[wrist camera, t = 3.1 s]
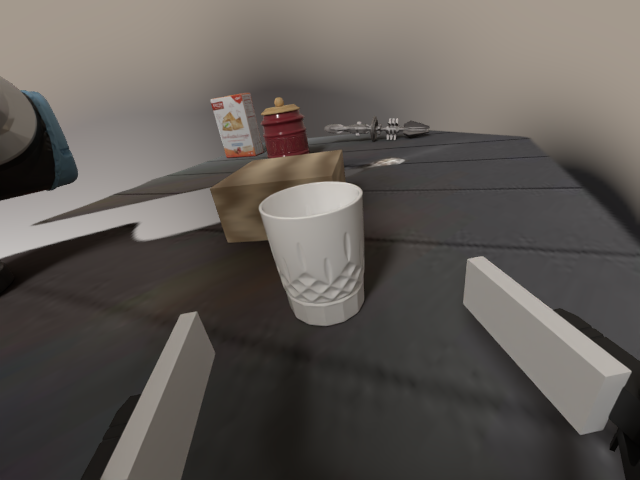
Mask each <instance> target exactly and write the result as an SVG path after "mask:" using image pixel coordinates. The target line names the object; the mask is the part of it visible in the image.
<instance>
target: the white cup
mask: <svg viewBox="0 0 640 480" xmlns="http://www.w3.org/2000/svg"><path fill="white" fill-rule="evenodd" d="M259 212H260V215H261V218H262V221H263V224H264V228H265V231H266V234H267V238H268V241H269V244H270V247H271V251H272V254H273V257H274V260H275V263H276V266H277V269H278V272H279V275H280V278H281V281H282V284H283V287H284V289H285V290H286V293H287V297H288V300H289V304H290V307H291V309H292V311H293V312H294V314H295V316H296V318H298V319H300V320H302V321H303V322H305V323H307V324H309V325H319V326H330V325H334V324H337V323H341V322H345V321H346V320H348V319H349V318H351V317H352V316H354V315H355V314H357V313H358V312H359V310H360V308H361V306H362V304H363V302H364V279H363V275H364V222H363V193H362V190H361V188H360V187H358V186H356V185H354V184H351V183H346V182H315V183H308V184H303V185H298V186H294V187H290V188H287V189H284V190H281V191H279V192H276V193H274V194H272V195H270V196H269V197H267V198H266V199H264V200H263V201H262V202H261V203H260V205H259Z"/></svg>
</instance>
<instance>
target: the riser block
mask: <svg viewBox="0 0 640 480" xmlns="http://www.w3.org/2000/svg"><path fill="white" fill-rule="evenodd" d="M315 182H345V173H344V164H343V154H342V150H336V151H327V152H319V153H311V154H303V155H295V156H287V157H279V158H271V159H262V160H254V161H252V162H250V163H249V164H247V165H245V166H244V167H242V168H241V169H239V170H238V171H236V172H235V173H233V174H232V175H230V176H229V177H227V178H225V179H224V180H222V181H221V182H219V183H218V184H216V185H215V186H213V187H212V188H210V190H211V193H212V197H213V199H214V202H215V205H216V209H217V212H218V214H219V218H220V221H221V224H222V227H223V230H224V233H225V236H226V239H227V242H228V243H232V242H247V241H263V240H268V238H267V234H266V231H265V228H264V224H263V221H262V218H261V215H260V212H259V205H260V203H261V202H262V201H263V200H264V199H266V198H267V197H269V196H270V195H272V194H274V193H276V192H279V191H281V190H284V189H287V188H290V187H294V186H298V185H303V184H308V183H315Z"/></svg>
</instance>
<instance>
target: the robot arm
mask: <svg viewBox="0 0 640 480" xmlns="http://www.w3.org/2000/svg"><path fill="white" fill-rule="evenodd" d="M77 177H78V170H77V167H76V164H75V161H74V158H73V156H72V153H71V151H70V150H69V146H68V144H67V141H66V139H65V136H64V134H63V132H62V130H61V127H60V126H59V123H58V121H57V119H56V117H55V115H54V113H53V111H52V109H51V107H50V105H49V103H48V102H47V100H46V99H45V98H44V97H43V96H42V95H41V94H40V93H38V92H28V91H25V90H19V89H18V88H16V87H15V86H14V85H13V84H12V83H10V82H8V81H7V80H5V79H3V78H2V77H0V201H1V200H5V199H10V198H14V197H18V196H23V195H27V194H31V193H35V192H40V191H44V190H47V191H50V190H54V189H55V188H57V187H60V186H63V185H67V184H70V183H72V182H74V181H75V180H76V179H77ZM13 280H14V275H13V274H12V272H11V271H10V270H9V268H8V267H7V266H6V264H4V263H3V262H2V261H1V260H0V293H1V292H2V291H3V290H5V289H6V288H7V287H8V286H9V285H10V284H11V283H12V282H13ZM463 304H464V305H465V306H466V307H467V309H468V310H469V311H470V312H471V313H472V314H473V315H474V316H475V318H476V319H477V320H478V321H479V322H480V323H481V324H482V325H483V327H484V328H485V329H486V330H487V331H488V332H489V333H490V334H491V335H492V337H493V338H494V339H495V340H496V341H497V342H498V343H499V344H500V346H501V347H502V348H503V349H504V350H505V351H506V352H507V353H508V355H509V356H510V357H511V358H512V359H513V360H514V361H515V362H516V364H517V365H518V366H519V367H520V368H521V369H522V370H523V371H524V372H525V374H526V375H527V376H528V377H529V378H530V379H531V380H532V381H533V383H534V384H535V385H536V386H537V387H538V388H539V389H540V390H541V392H542V393H543V394H544V395H545V396H546V397H547V398H548V399H549V400H550V402H551V403H552V404H553V405H554V406H555V407H556V408H557V409H558V411H559V412H560V413H561V414H562V415H563V416H564V417H565V418H566V420H567V421H568V422H569V423H570V424H571V425H572V426H573V427H574V428H575V430H576V431H577V432H578V433H579V434H580V435H582V434H587V433H591V432H596V431H600V430H603V429H604V427H605V425H606V423H607V421H608V419H610V420H611V421H612V422H614V423H615V424H616V425H617V426H618V427H619V428H618V430H617V432H616V434H615V436H614V438H613V439H612V441H611V443H610V450H611V451H614V452H615V450H616V448H617V446H618V444H619V448H620V453H621V458H622V463H623V468H624V473H625V478H626V480H640V361H639V360H637V359H636V358H634V357H633V356H632V355H630V354H629V353H627V352H626V351H625V350H623V349H622V348H621V347H619V346H618V345H616V344H615V343H614V342H612V341H611V340H610V339H608V338H607V337H604V336H603V334H601V333H600V332H599V331H597V330H596V329H593V328H592V327H591V326H590V325H589V324H588V323H586V322H585V321H583V320H582V319H581V318H579V317H578V316H576V315H574V314H572V313H569V312H567V311H565V310H563V309H561V308H559V309H554V310H552V309H550V308H549V307H548V306H547V305H545V304H544V303H543V302H541V301H540V300H539V299H537V298H536V297H535V296H534V295H532V294H531V293H530V292H528V291H527V290H526V289H524V288H523V287H522V286H521V285H519V284H518V283H517V282H515V281H514V280H513V279H512V278H510V277H509V276H508V275H506V274H505V273H504V272H502V271H501V270H500V269H499V268H497V267H496V266H495V265H493V264H492V263H491V262H489V261H488V260H487V259H486V258H484V257H483V256H481V257H475V258H470V259H467V268H466V278H465V289H464V300H463ZM214 356H215V351H214V349H213V347H212V344H211V342H210V340H209V338H208V335H207V333H206V331H205V329H204V326H203V324H202V322H201V320H200V317H199V315H198V313H197V311H196V312H191V313H186V314H181V315H180V317H179V319H178V321H177V323H176V325H175V327H174V329H173V331H172V333H171V335H170V337H169V339H168V341H167V343H166V345H165V348H164V350H163V352H162V354H161V356H160V358H159V360H158V362H157V364H156V366H155V368H154V370H153V372H152V374H151V376H150V378H149V380H148V382H147V384H146V387H145V389H144V391H143V393H142V394H139V395H134V396H130V397H129V398H128V400H127V401H126V402H125V403H124V404H123V405H122V406H121V408H120V409H119V410H118V411H117V413H116V415H115V417H114V418H113V420H112V422H111V424H110V426H109V429H108V430H107V431H106V433H105V435H104V437H103V439H102V443H100V444H99V446H98V448H97V450H96V452H95V454H94V456H93V457H92V459H91V461H90V463H89V465H88V467H87V469H86V470H85V472H84V474H83V476H82V478H81V480H181V477H182V473H183V470H184V466H185V462H186V459H187V455H188V451H189V448H190V444H191V440H192V437H193V433H194V429H195V426H196V422H197V418H198V415H199V411H200V407H201V404H202V400H203V396H204V393H205V389H206V385H207V382H208V378H209V374H210V371H211V367H212V363H213V360H214Z"/></svg>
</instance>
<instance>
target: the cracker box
mask: <svg viewBox="0 0 640 480" xmlns="http://www.w3.org/2000/svg"><path fill="white" fill-rule="evenodd" d="M210 101H211V105H212V108H213V111H214V115H215V118H216V122H217V125H218V129H219V132H220V136H221V139H222V143H223V146H224V149H225V153H226V157H227V158H230V157H245V156H257V155H259V154H261V153H263V147H262V143H261V138H260V134H259V129H258V125H257V121H256V116H255V112H254V108H253V103H252V99H251V95H250V93H244V94H237V95H230V96H226V97H220V98H215V99H211V100H210Z"/></svg>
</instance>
